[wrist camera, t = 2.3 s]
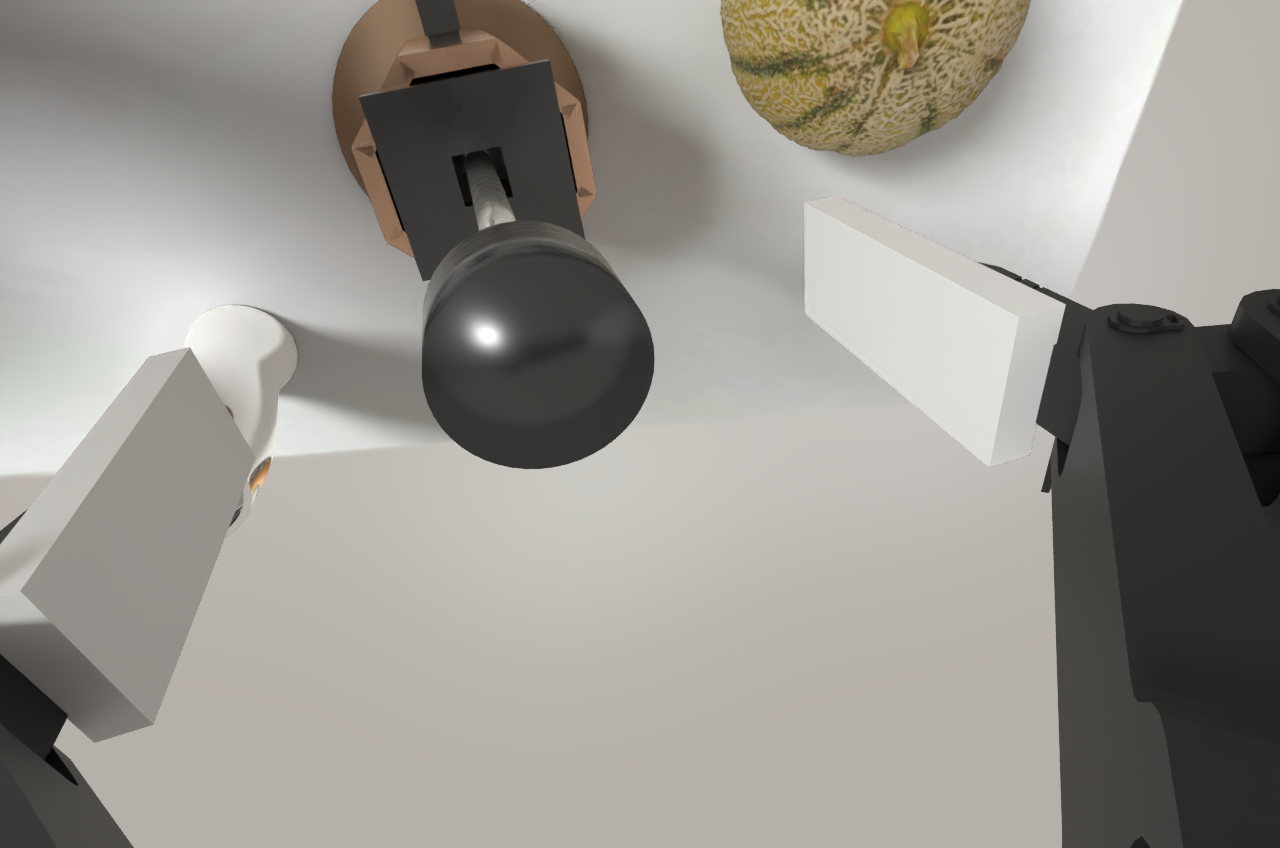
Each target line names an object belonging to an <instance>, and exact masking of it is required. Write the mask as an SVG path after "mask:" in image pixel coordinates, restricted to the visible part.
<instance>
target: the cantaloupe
mask: <svg viewBox="0 0 1280 848" xmlns="http://www.w3.org/2000/svg"><path fill="white" fill-rule="evenodd" d="M1030 1H1031V0H721V2H722V3H721V12H720V14H721V19H722V26H723V33H724V39H725V43H726V46H727V48H728V51H729V54H730V60H731V66H732V71H733V73H734V75H735V76H736V80H737V84H738V85H739V86H740V88H741V91H742V93H743V95H744V96H745V98H746V99H747V101H748V102H749V104H750V105H751V107H752V108H753V109H754V110H755V111H756V112H757V113H758V114H759V115H760V116H761V117H763V118H765V119H766V120H767V121H768V122H769V123H770V124H771V125H772V126H773V128H774V129H775V130H777V131H778V132H779V133H780V134H783V135H784V136H786V137H787V138H788V139H789V140H794V141H795V142H796V143H797V144H799V145H801V146H806V147H808V148H809V149H814V150H830V151H836V152H838V153H840V154H844V155H849V156H862V155H873V154H878V153H882V152H886V151H889V150H892V149H894V148H897V147H900V146H903V145H905V144H906V143H908V142H910V141H911V140H913V139H915V138H917V137H919V136H921V135H923V134H925V133H927V132H929V131H931V130H935V129H938V128H940V127H941V126H942V125H944V124H945V123H947V122H948V121H950V120H952V119H954V118H957V117H958V115H959V114H960V113H961V112H962V111H963V110H964V109H965V108H966V107H968V106H969V105H970V104H971V103H972V102H973V101H974V100H975V99H976V98H977V97H978V95H979V94H980V93H981V92H982V91H983V89H984V88H985V87H986V86H987V85H988V83H989V82H990V80H991V79H992V78H993V77H994V75H995V74H997V73H998V72H999V71H1000V68H1001V65H1002V61H1003V59H1004V58H1005V56H1006V55H1007V54H1008V52H1009V51H1010V50H1011V48H1012V47H1013V46H1014V44H1015V42H1016V40H1017V38H1018V35H1019V33H1020V30H1021V29H1022V27H1023V25H1024V21H1025V18H1026V16H1027V13H1028V9H1029V5H1030Z"/></svg>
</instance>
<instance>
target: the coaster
mask: <svg viewBox="0 0 1280 848" xmlns="http://www.w3.org/2000/svg"><path fill="white" fill-rule="evenodd" d="M454 4H455V8H456V12H457V16H458V20H459V24H460V28H461V30H458V31H463V30H468V29H473V28H480V29H481V30H483V31H485V32H487V33H489V34H491V35H493V36H495V37H497V38H498V39H500V40H501V41H502V42H504V43H505V44H506V45H508V46H509V47H510V48H512V49H513V50H514V51H515V52H517V53H518V54H519V55H521V56H522V57H523V58H525V59H526V60H527V61H529V62H534V61H539V60H544V59H548V60H550V63H551V68H552V73H553V78H554V81H555V82H556V83H557V84H559V85H560V86H561V87H562V88H564V89H565V90H566V91H568V92H569V93H570V94H572V95H573V96H574V97H575V98H577V99H578V100H579V102H580V103H581V109H582V114H583V120H584V126H585V131H586V137H587V140H588V114H587V105H586V99H585V95H584V91H583V87H582V83H581V81H580V78H579V75H578V72H577V70H576V67H575V65H574V63H573V61H572V59H571V57H570V55H569V53H568V51H567V50H566V48H565V47H564V45H563V44H562V42H561V41H560V39H559V38H558V36H557V35H556V34H555V33H554V32H553V30H552V29H551V28H550V27H549V26H548V24H547V23H546V22H545V21H544V20H543V19H542V18H540V17H539V16H538V15H537V14H536V13H535V12H534V11H533V10H532V9H530V8H529V7H528V6H526V5H525V4H523V3H522V2H521V1H519V0H454ZM424 37H428V36H425V33H424V30H423V26H422V22H421V19H420V15H419V12H418V8H417V5H416V1H415V0H379V1H378V2H377V3H376V4H375V5H374V6H372V7H371V8H370V9H369V10H368V11H367V12H366V13H365V14H364V15H363V16H362V18H361V19H360V20H359V21H358V23H357V24H356V25H355V26H354V28H353V29H352V31H351V33H350V35H349V36H348V38H347V40H346V42H345V43H344V46H343V49H342V51H341V54H340V57H339V59H338V62H337V67H336V71H335V76H334V83H333V95H332V100H333V117H334V123H335V128H336V134H337V137H338V140H339V143H340V147H341V150H342V153H343V155H344V157H345V159H346V162H347V164H348V166H349V168H350V170H351V172H352V173H353V175H354V177H355V178H356V180H357V182H358V183H359V185H360V186H361V188H362V189H363V190H364V191H365V193H366V194H367V195H368V192H367V190H366V187H365V184H364V182H363V179H362V176H361V174H360V171H359V168H358V165H357V163H356V160H355V157H354V155H353V152H352V144H353V142H354V140H355V138H356V136H357V134H358V132H359V130H360V128H361V126H362V124H363V122H364V120H365V118H366V117H365V115H364V112H363V109H362V106H361V103H360V100H359V96H360V95H363V94H368V93H373V92H378V91H379V90H380V88H381V86H382V84H383V82H384V80H385V78H386V76H387V74H388V72H389V70H390V68H391V66H392V64H393V62H394V60H395V58H396V56H397V55H398V53H399V51H400V50H401V48H402V46H403V45H404V43H405V42H406V41H408V40H414V39H419V38H424ZM368 197H369V195H368Z"/></svg>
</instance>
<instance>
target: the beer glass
mask: <svg viewBox="0 0 1280 848" xmlns="http://www.w3.org/2000/svg"><path fill="white" fill-rule="evenodd" d="M188 347H190V348H191V350H192V351H193V353H194V355H195V356H196V358H197V360H198V361H199V363H200V365H201V366H202V368H203V370H204V372H205V373H206V375H207V377H208V378H209V380H210V382H211V383H212V385H213V387H214V388H215V390H216V392H217V393H218V395H219V397H220V398H221V400H222V402H223V403H224V405H225V407H226V408H227V410H228V412H229V413H230V415H231V417H232V418H233V420H234V422H235V423H236V425H237V427H238V428H239V430H240V432H241V433H242V435H243V437H244V438H245V440H246V442H247V443H248V445H249V447H250V448H251V450H252V452H253V453H254V455H255V457H256V458H255V460H254V463H253V466H252V468H251V471H250V473H249V476H248V479H247V481H246V484H245V486H244V489H243V492H242V494H241V497H240V500H239V502H238V505H237V507H236V510H235V513H234V515H233V518H232V520H231V523H230V526H229V528H228V531H227V533H226V536H225V538H226V537H228V536H230V535H231V534H232V533H234V532H235V531H236V530H237V529H238V528H239V527H240V526H241V525H242V523H243V522H244V521H245V519H246V518H247V516H248V514H249V511H250V508H251V505H252V503H253V502H254V500H255V498H256V496H257V494H258V492H259V490H260V488H261V486H262V484H263V482H264V480H265V478H266V475H267V472H268V470H269V468H270V465H271V462H272V459H273V456H274V452H275V448H276V445H277V438H278V428H279V391H280V389H281V388H282V387H283V386H284V385H285V384H286V383H287V382H288V381H289V379H290V378H291V377H292V375H293V373H294V371H295V369H296V366H297V360H298V353H297V347H296V344H295V341H294V339H293V337H292V335H291V334H290V332H289V331H288V330H287V328H286V327H285V326H284V325H283V324H282V323H281V322H279V321H278V320H277V319H276V318H274V317H273V316H271V315H269V314H268V313H266V312H263V311H261V310H258V309H256V308H252V307H248V306H242V305H226V306H220V307H217V308H213V309H211V310H209V311H207V312H205V313H203V314H202V315H200V316H199V317H198V318H197V319H196V320H195V321H194V322H193V323H192V325H191V326H190V328H189V330H188V332H187V335H186V339H185V343H184V348H188Z"/></svg>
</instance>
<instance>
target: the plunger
mask: <svg viewBox="0 0 1280 848" xmlns="http://www.w3.org/2000/svg"><path fill="white" fill-rule="evenodd" d="M451 157H452V161H453V164H454V168H455V171H456V174H457V178H458V181H459V185H460V188H461V192H462V195H463V198H464V202H469V201H473V205H474V209H475V214H476V218H477V223H478V228H479V231H478V232H476V233H474V234H472V235H470V236H469V237H467V238H466V239H464V240H462V241H461V242H460V243H459V244H458V245H456V246H455V247H454V248H453V249H452V250H451V251H450V252H449V253H448V254H447V255H446V256H445V257H444V258H443V260H442V261H441V263H440V264H439V265H438V267H437V268H436V270H435V272H434V274H433V276H432V278H431V280H430V282H429V285H428V288H427V291H426V294H425V299H424V306H423V340H422V381H423V388H424V393H425V396H426V399H427V403H428V405H429V407H430V409H431V411H432V413H433V416H434V417H435V419H436V420H437V422H438V423H439V425H440V426H441V428H442V429H443V430H444V431H445V432H446V433H447V434H448V435H449V437H450V438H451V439H453V440H454V441H455V442H456V443H457V444H458V445H460V446H461V447H462V448H464V449H465V450H467V451H469V452H470V453H472V454H473V455H475V456H478V457H480V458H482V459H484V460H486V461H489V462H492V463H495V464H499V465H503V466H507V467H512V468H523V469H542V468H551V467H557V466H561V465H565V464H569V463H572V462H575V461H578V460H581V459H583V458H585V457H587V456H589V455H591V454H593V453H595V452H597V451H598V450H600V449H602V448H604V447H605V446H606V445H608V444H609V443H610V442H612V441H613V440H614V439H616V437H618V436H619V435H620V434H621V433H622V432H623V431H624V430H625V429H626V428H627V427H628V426H629V424H630V423H631V422H632V421H633V420H634V418H635V417H636V415H637V414H638V412H639V411H640V409H641V407H642V405H643V403H644V401H645V399H646V397H647V395H648V392H649V389H650V386H651V382H652V377H653V372H654V347H653V341H652V337H651V333H650V330H649V327H648V325H647V322H646V320H645V318H644V316H643V314H642V313H641V311H640V309H639V308H638V306H637V305H636V303H635V302H634V300H633V299H632V297H631V296H630V294H629V293H628V291H627V290H626V289H625V287H624V286H623V284H622V283H621V281H620V280H619V278H618V277H617V275H616V274H615V273H614V271H613V270H612V268H611V267H610V265H609V264H608V262H607V261H606V260H605V259H604V257H603V256H602V255H601V253H600V252H599V251H598V250H596V249H595V248H594V247H593V246H592V245H591V244H590V243H589V242H587V241H586V240H585V239H583V238H582V237H580V236H579V235H577V234H575V233H573V232H571V231H570V230H567V229H565V228H562V227H559V226H557V225H553V224H549V223H545V222H537V221H516V219H515V216H514V214H513V211H512V209H511V206H510V204H509V201H508V199H507V196H506V193H510V192H511V189H510V185H509V181H508V177H507V173H506V169H505V165H504V161H503V157H502V153H501V149H500V146H499V147H494V148H489V149H484V150H480V151H475V152H470V153H465V154H461V155H456V156H451Z"/></svg>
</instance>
